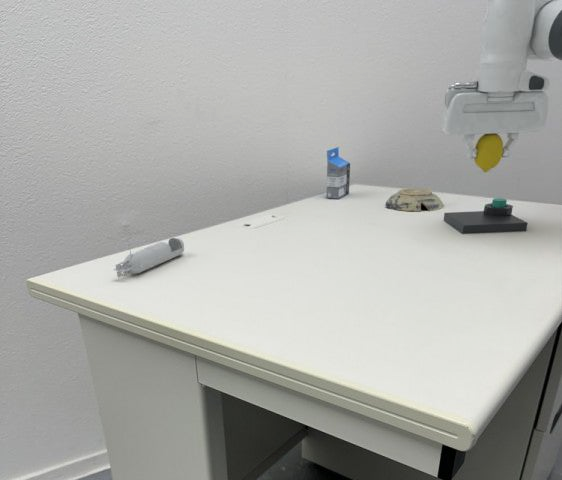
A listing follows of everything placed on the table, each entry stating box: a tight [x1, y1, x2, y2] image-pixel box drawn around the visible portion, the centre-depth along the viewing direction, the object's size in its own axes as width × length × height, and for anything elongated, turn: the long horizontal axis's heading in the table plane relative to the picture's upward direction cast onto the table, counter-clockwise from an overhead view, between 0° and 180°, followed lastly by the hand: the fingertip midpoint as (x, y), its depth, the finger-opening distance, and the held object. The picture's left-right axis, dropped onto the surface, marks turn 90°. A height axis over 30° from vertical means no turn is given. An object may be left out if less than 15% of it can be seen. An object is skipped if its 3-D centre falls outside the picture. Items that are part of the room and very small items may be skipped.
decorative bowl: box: [385, 187, 444, 213], centre depth 140 cm, size 15×4×15 cm
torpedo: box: [113, 237, 185, 278], centre depth 100 cm, size 18×5×7 cm, turn 152°
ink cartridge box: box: [325, 146, 351, 200], centre depth 151 cm, size 9×4×12 cm, turn 155°
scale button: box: [491, 197, 508, 208], centre depth 123 cm, size 3×3×2 cm
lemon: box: [473, 133, 504, 173], centre depth 111 cm, size 6×6×8 cm
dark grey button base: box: [443, 202, 529, 235], centre depth 121 cm, size 14×12×4 cm
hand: (487, 157), depth 112 cm, fingers closed on lemon, 5 cm apart
